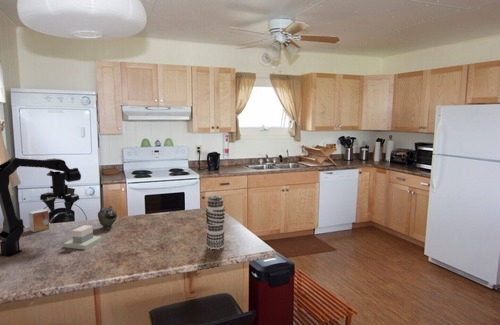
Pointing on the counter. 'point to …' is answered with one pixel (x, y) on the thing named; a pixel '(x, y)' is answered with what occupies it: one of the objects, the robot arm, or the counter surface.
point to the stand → (83, 245)
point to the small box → (39, 220)
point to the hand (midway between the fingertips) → (60, 213)
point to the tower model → (215, 222)
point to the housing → (82, 234)
